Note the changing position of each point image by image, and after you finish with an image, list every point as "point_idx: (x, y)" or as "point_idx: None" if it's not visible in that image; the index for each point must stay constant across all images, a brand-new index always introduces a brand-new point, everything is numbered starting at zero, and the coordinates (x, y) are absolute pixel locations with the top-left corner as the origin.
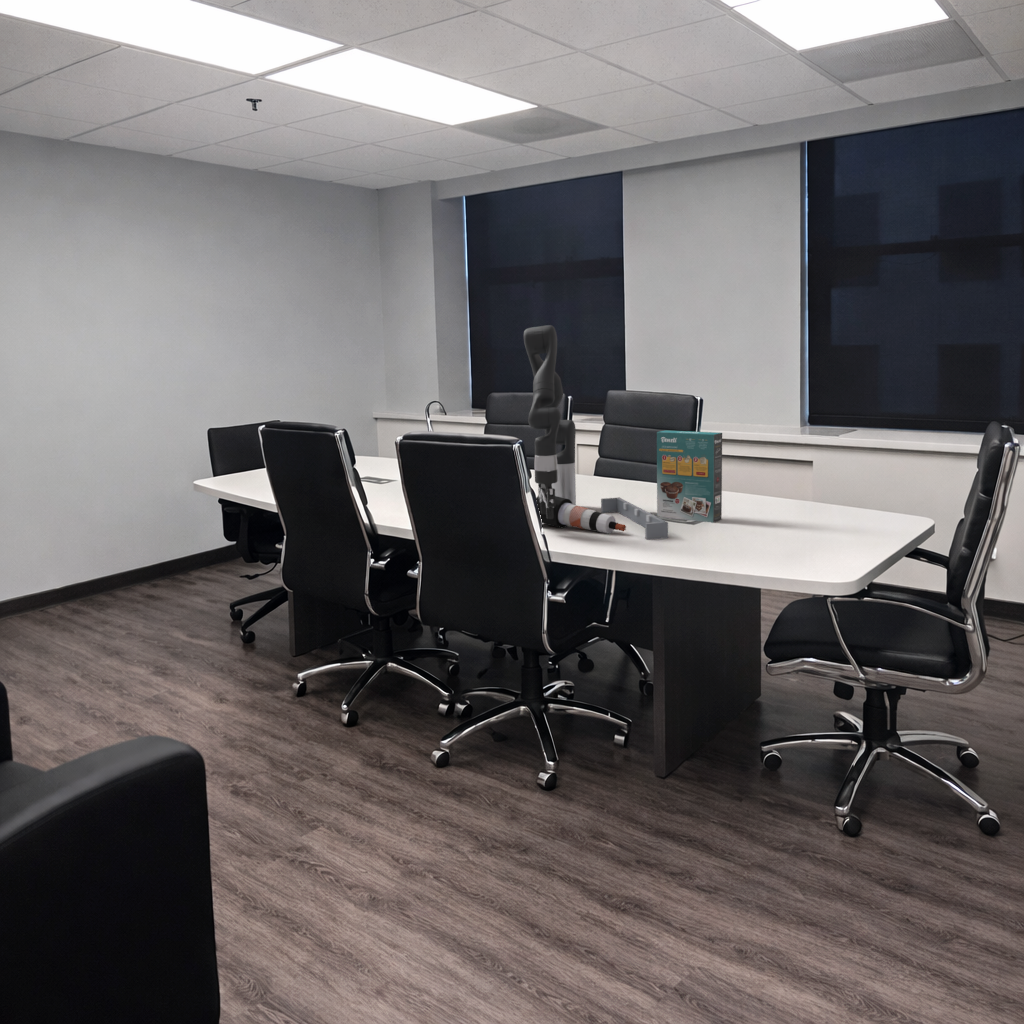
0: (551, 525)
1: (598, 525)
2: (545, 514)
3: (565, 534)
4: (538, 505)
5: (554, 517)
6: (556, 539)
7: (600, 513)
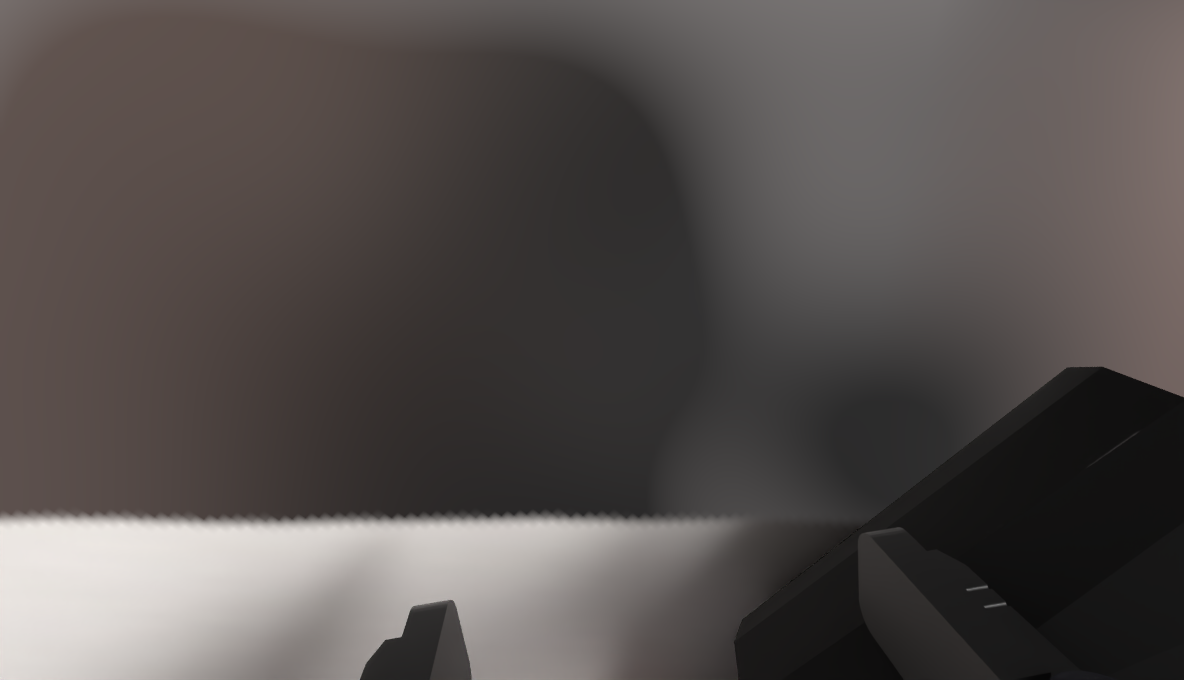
0: None
1: None
2: None
3: None
4: (1178, 571)
5: (758, 670)
6: (158, 547)
7: None
